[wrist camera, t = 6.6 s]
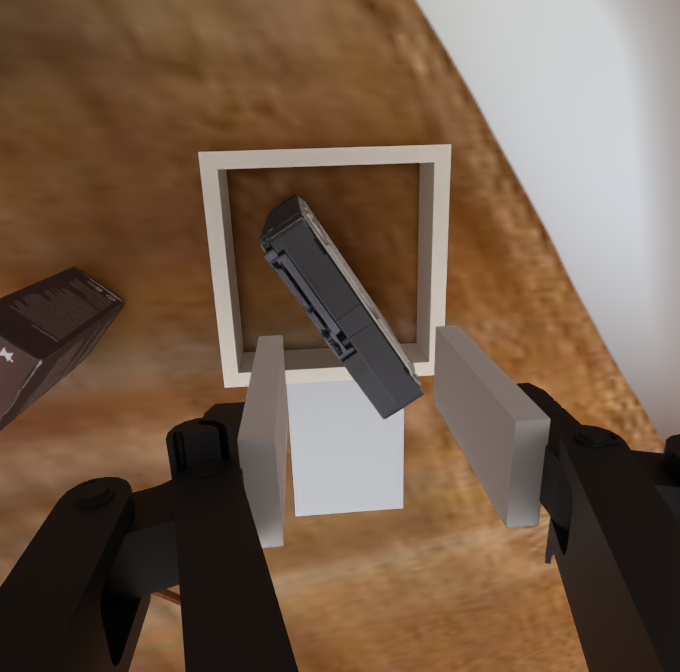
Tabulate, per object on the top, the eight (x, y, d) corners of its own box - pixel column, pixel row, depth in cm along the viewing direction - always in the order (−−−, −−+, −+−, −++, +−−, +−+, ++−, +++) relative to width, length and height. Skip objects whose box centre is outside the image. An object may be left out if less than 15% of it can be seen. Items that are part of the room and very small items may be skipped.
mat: (286, 380, 39) (286, 383, 39) (403, 373, 40) (404, 376, 39) (295, 512, 43) (295, 516, 43) (401, 504, 44) (402, 508, 43)
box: (69, 262, 35) (-39, 309, 24) (127, 302, 36) (50, 365, 25) (24, 328, 36) (-100, 402, 25) (81, 364, 38) (-13, 452, 26)
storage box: (209, 153, 34) (198, 151, 30) (434, 146, 35) (451, 144, 31) (231, 365, 38) (224, 387, 35) (429, 354, 39) (442, 374, 36)
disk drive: (382, 309, 38) (432, 394, 24) (350, 330, 38) (382, 426, 24) (300, 189, 35) (303, 207, 21) (267, 213, 35) (247, 246, 21)
